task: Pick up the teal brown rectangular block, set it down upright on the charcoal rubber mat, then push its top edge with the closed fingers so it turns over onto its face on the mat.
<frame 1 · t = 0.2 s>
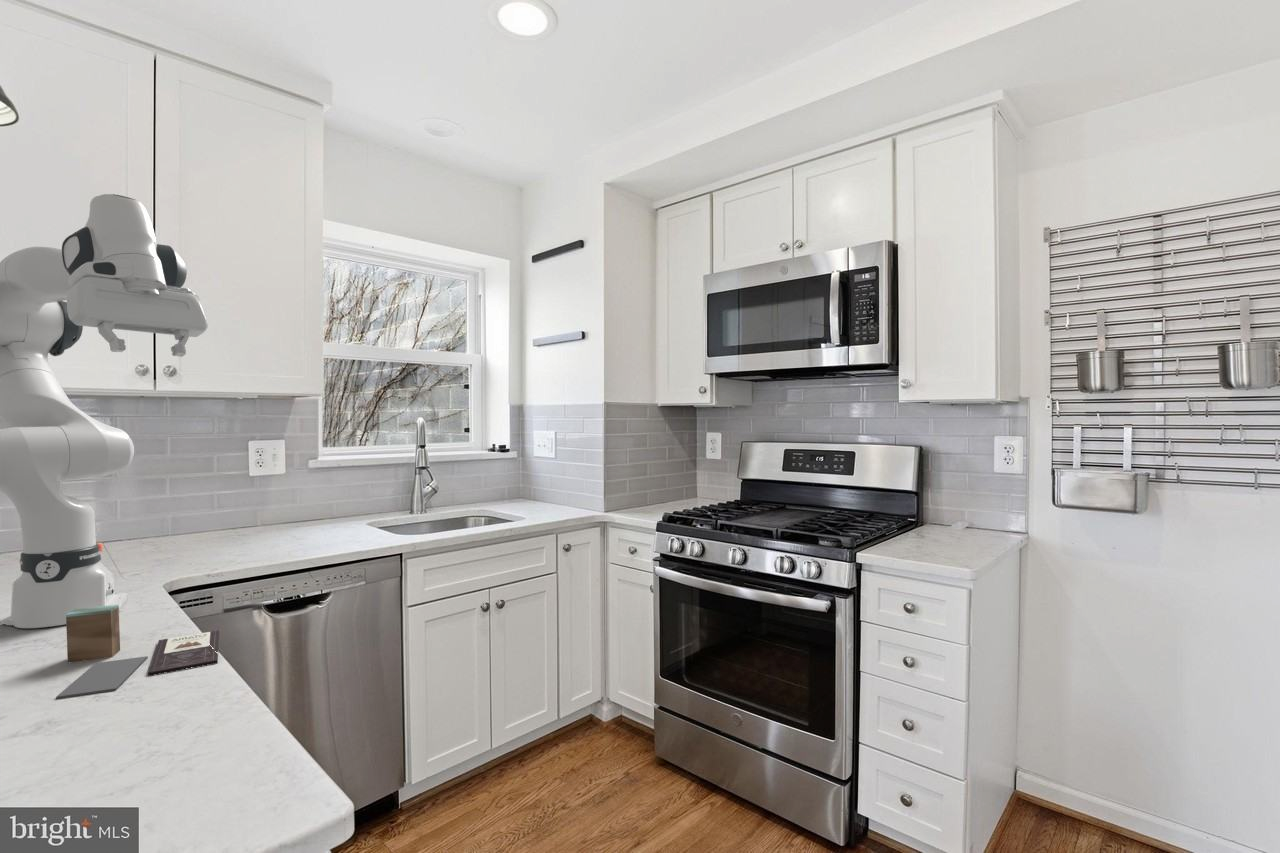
hand: (150, 353, 113), 51 cm above the counter, tool tilted 20°, fingers open, 8 cm apart
teal brown rectangular block: (94, 656, 110), on the counter
chocolate bar: (187, 656, 111), on the counter
rubber mat: (105, 676, 101), on the counter
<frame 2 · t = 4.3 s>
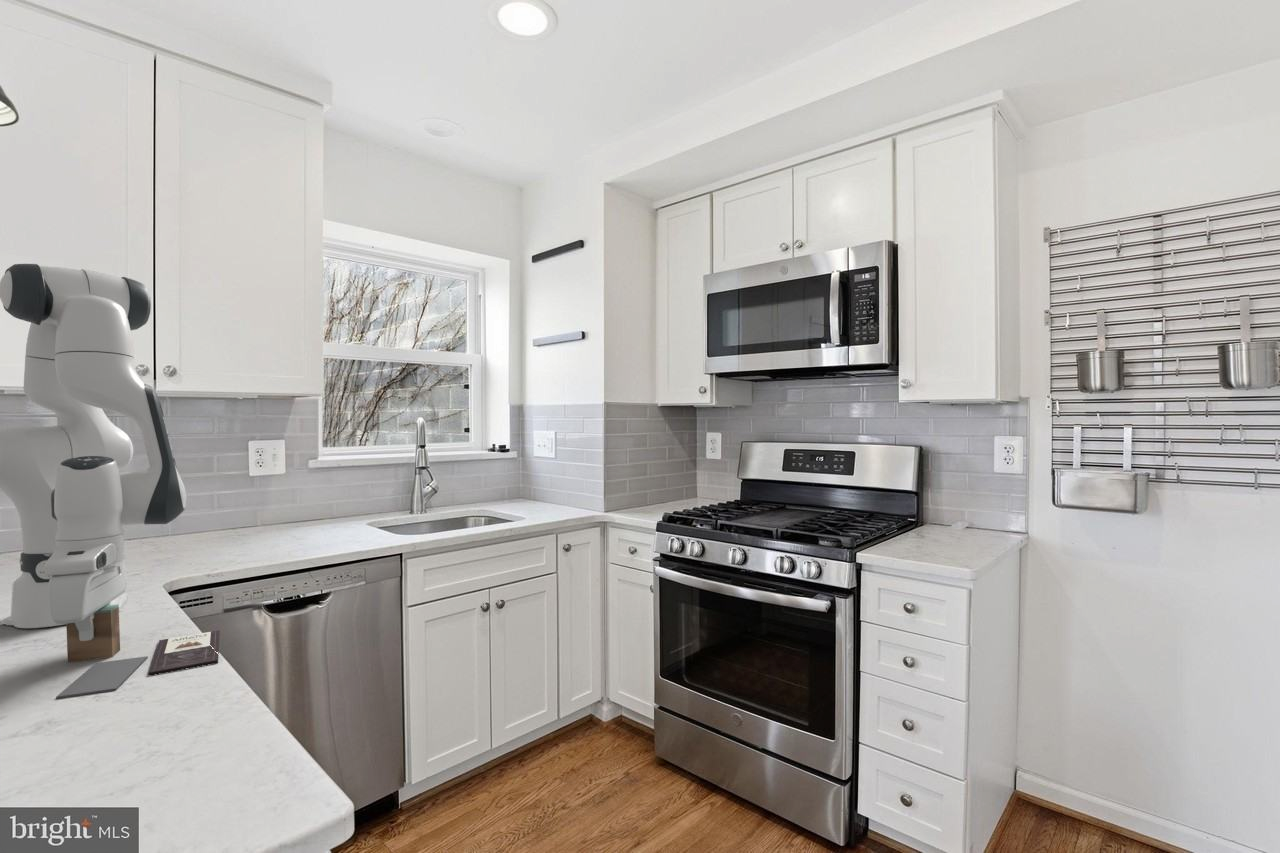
hand: (93, 634, 110), 4 cm above the counter, tool pointing down, fingers closed on teal brown rectangular block, 3 cm apart
teal brown rectangular block: (94, 656, 110), on the counter, touching gripper
everything else where it was.
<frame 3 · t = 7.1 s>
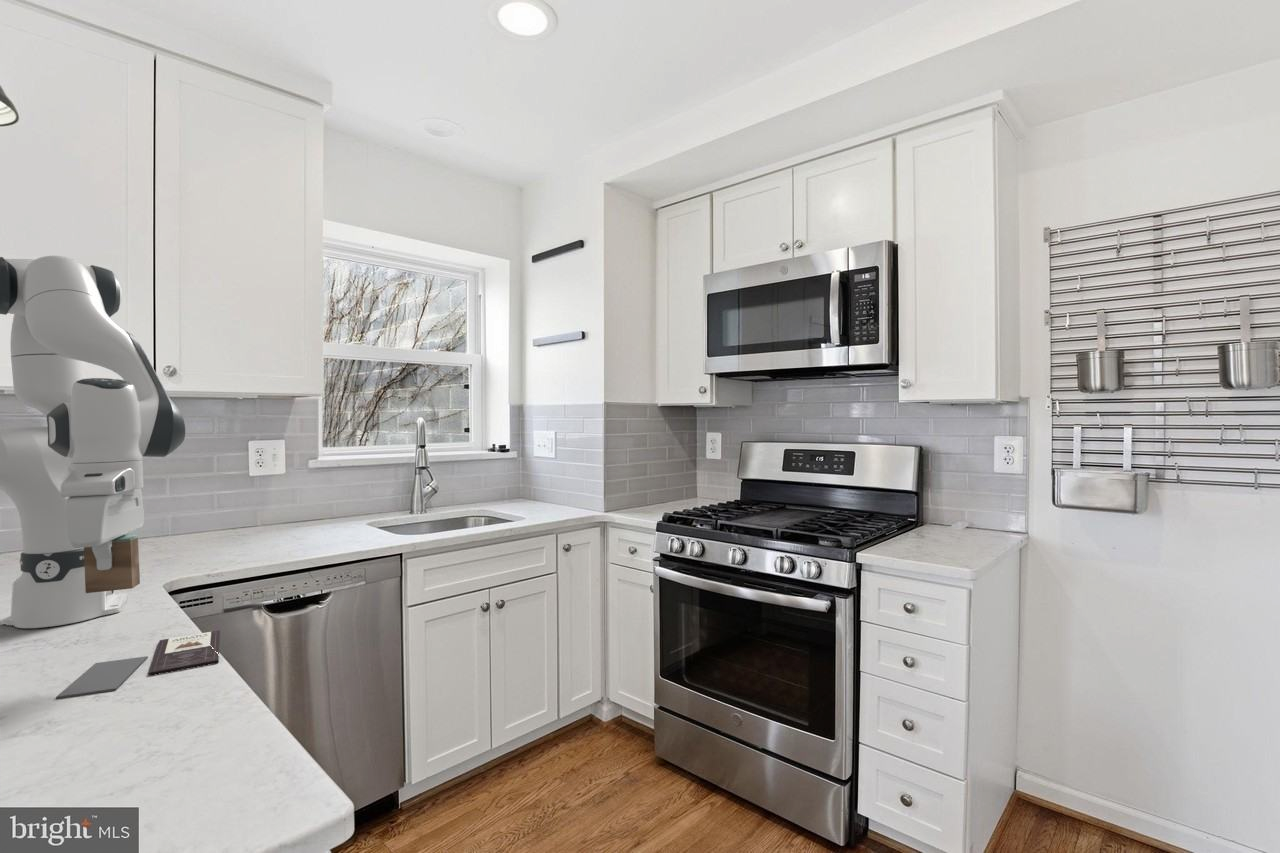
hand: (111, 565, 104), 16 cm above the counter, tool pointing down, fingers closed on teal brown rectangular block, 3 cm apart
teal brown rectangular block: (113, 588, 104), point 13 cm above the counter, touching gripper
everything else where it was.
when the fingers open (5 cm above the counter, at t = 9.7 s): teal brown rectangular block stays where it is, resting on rubber mat.
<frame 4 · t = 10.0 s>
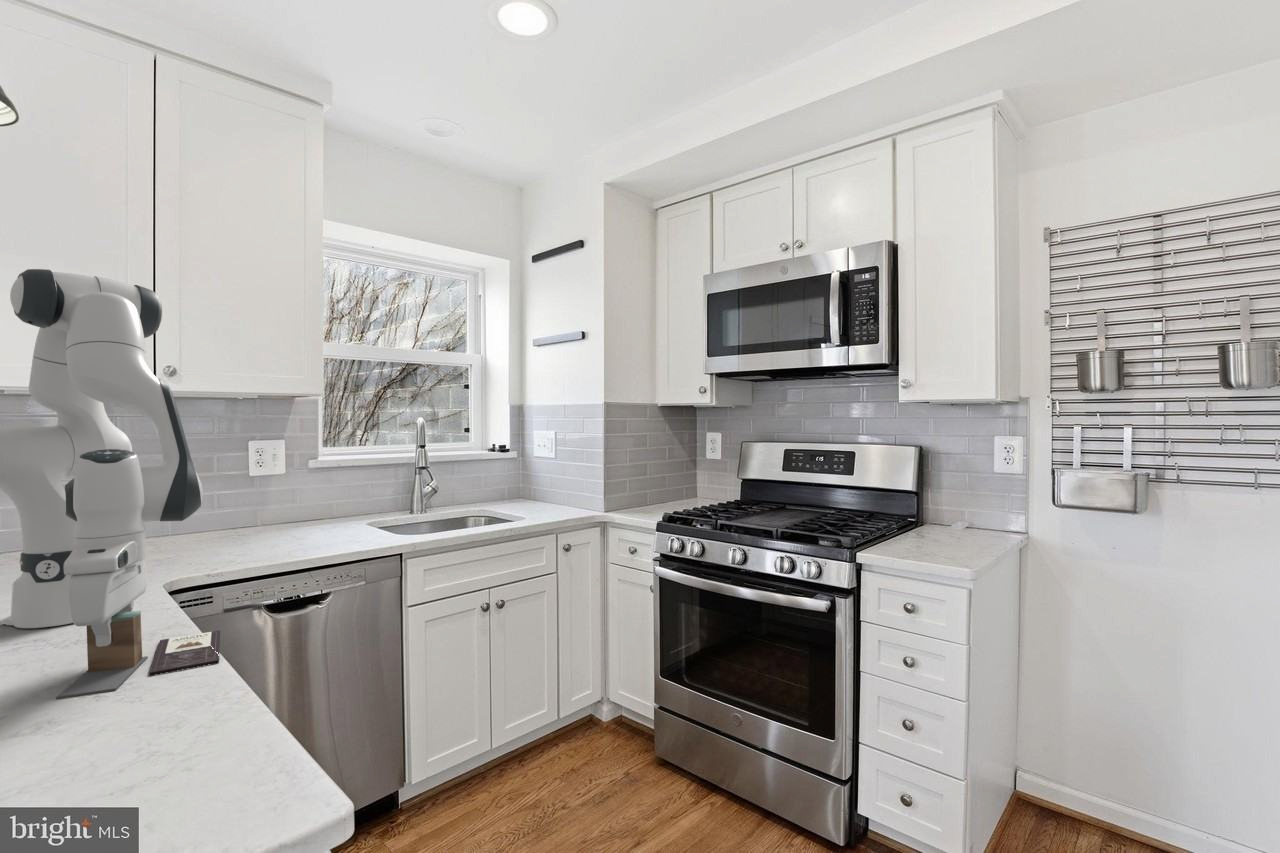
hand: (114, 637, 104), 5 cm above the counter, tool pointing down, fingers open, 6 cm apart
teal brown rectangular block: (115, 665, 104), resting on rubber mat
everything else where it was.
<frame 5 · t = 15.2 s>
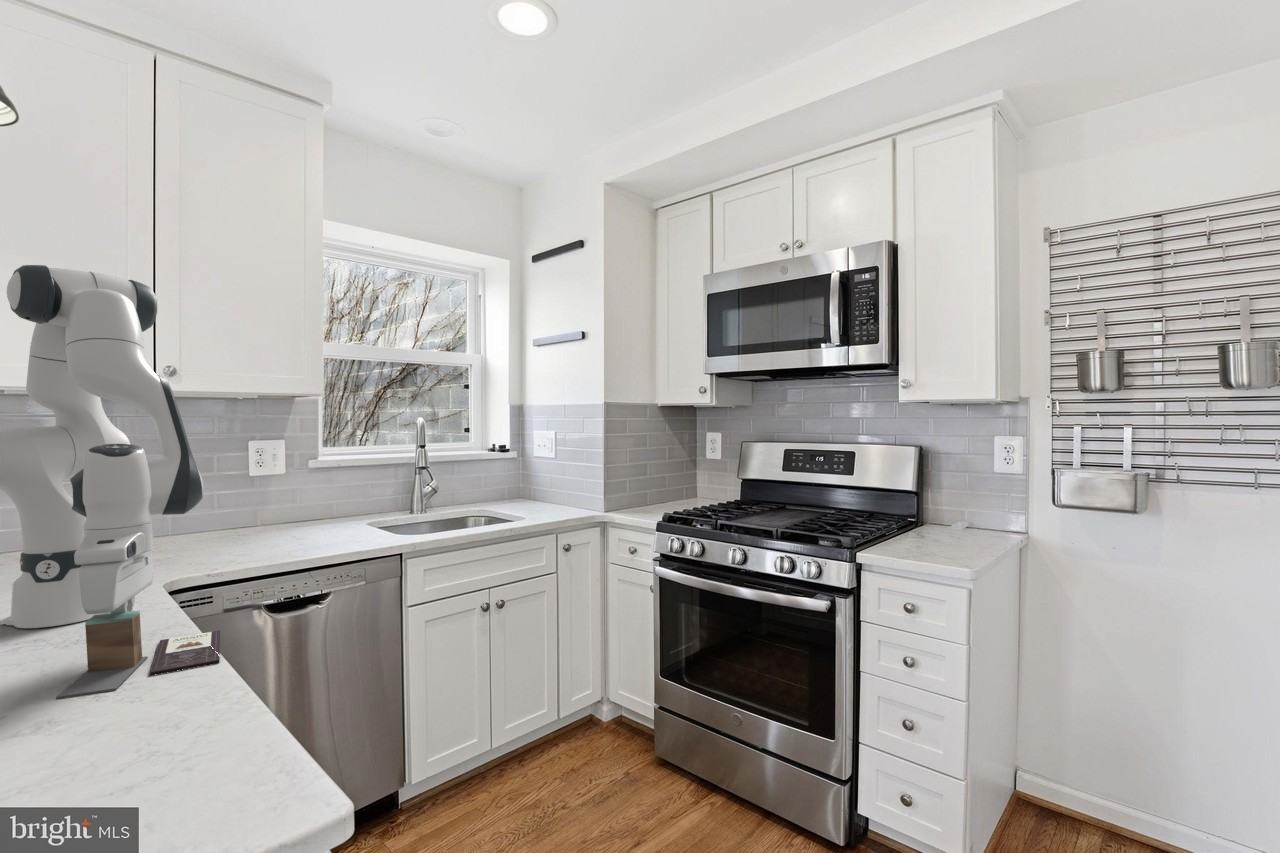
hand: (122, 626, 107), 6 cm above the counter, tool pointing down, fingers closed
teal brown rectangular block: (115, 665, 104), resting on rubber mat, touching gripper
everything else where it was.
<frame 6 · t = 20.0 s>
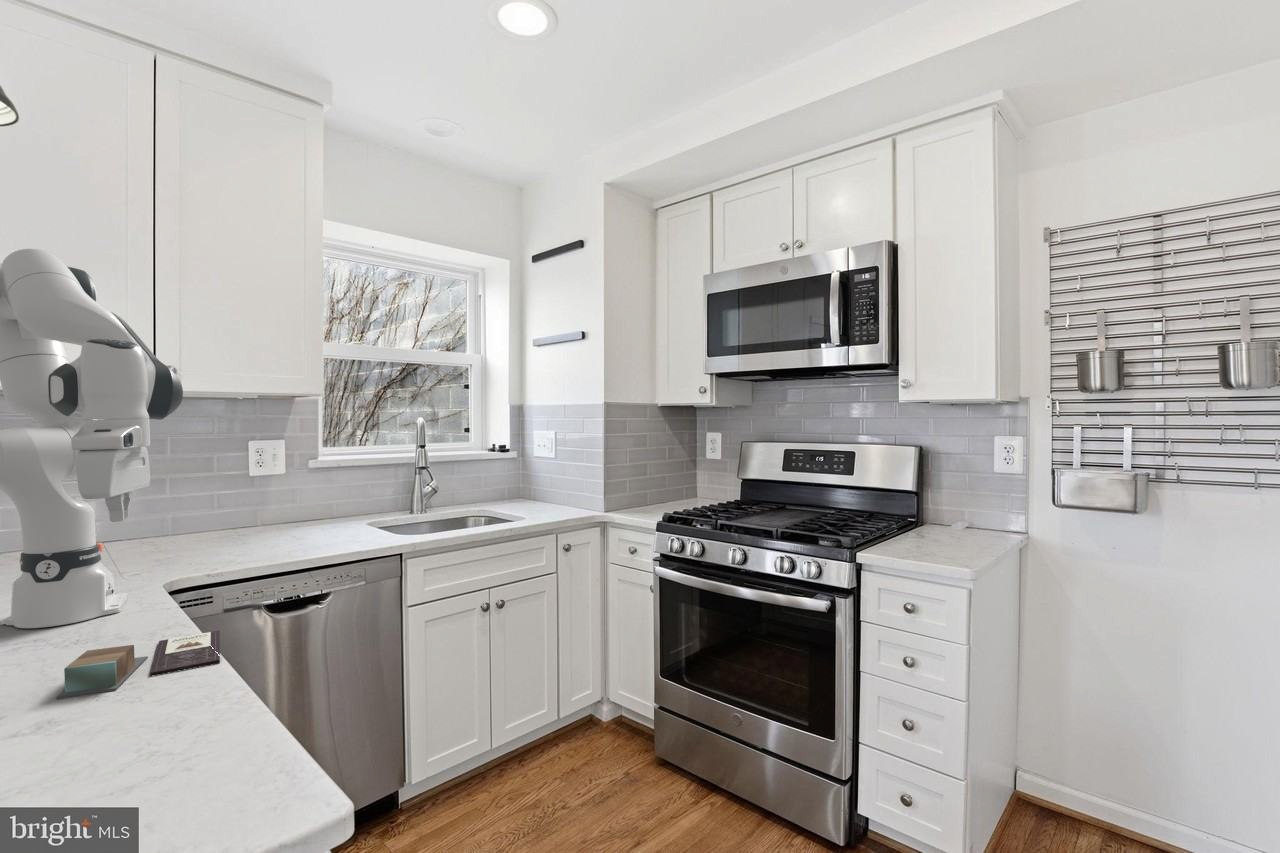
hand: (119, 520, 108), 23 cm above the counter, tool pointing down, fingers closed
teal brown rectangular block: (111, 658, 103), point 2 cm above the counter, tilted 90°, touching rubber mat
everything else where it was.
at the end: teal brown rectangular block tilted 90°; teal brown rectangular block inside the target area (3.3 cm from its centre), point 2.0 cm above the counter; the gripper is holding nothing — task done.
